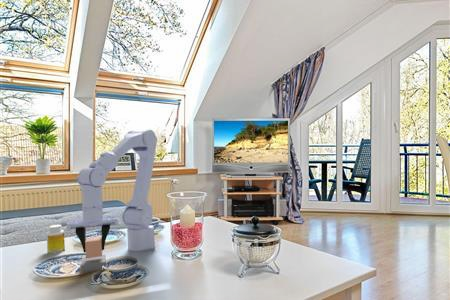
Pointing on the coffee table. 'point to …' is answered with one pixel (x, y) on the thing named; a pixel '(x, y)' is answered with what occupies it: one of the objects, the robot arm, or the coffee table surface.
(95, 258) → the gray slab
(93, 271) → the walnut slab
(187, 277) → the coffee table surface
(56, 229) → the supplement bottle
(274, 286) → the coffee table surface
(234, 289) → the coffee table surface
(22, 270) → the coffee table surface
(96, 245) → the terracotta block
